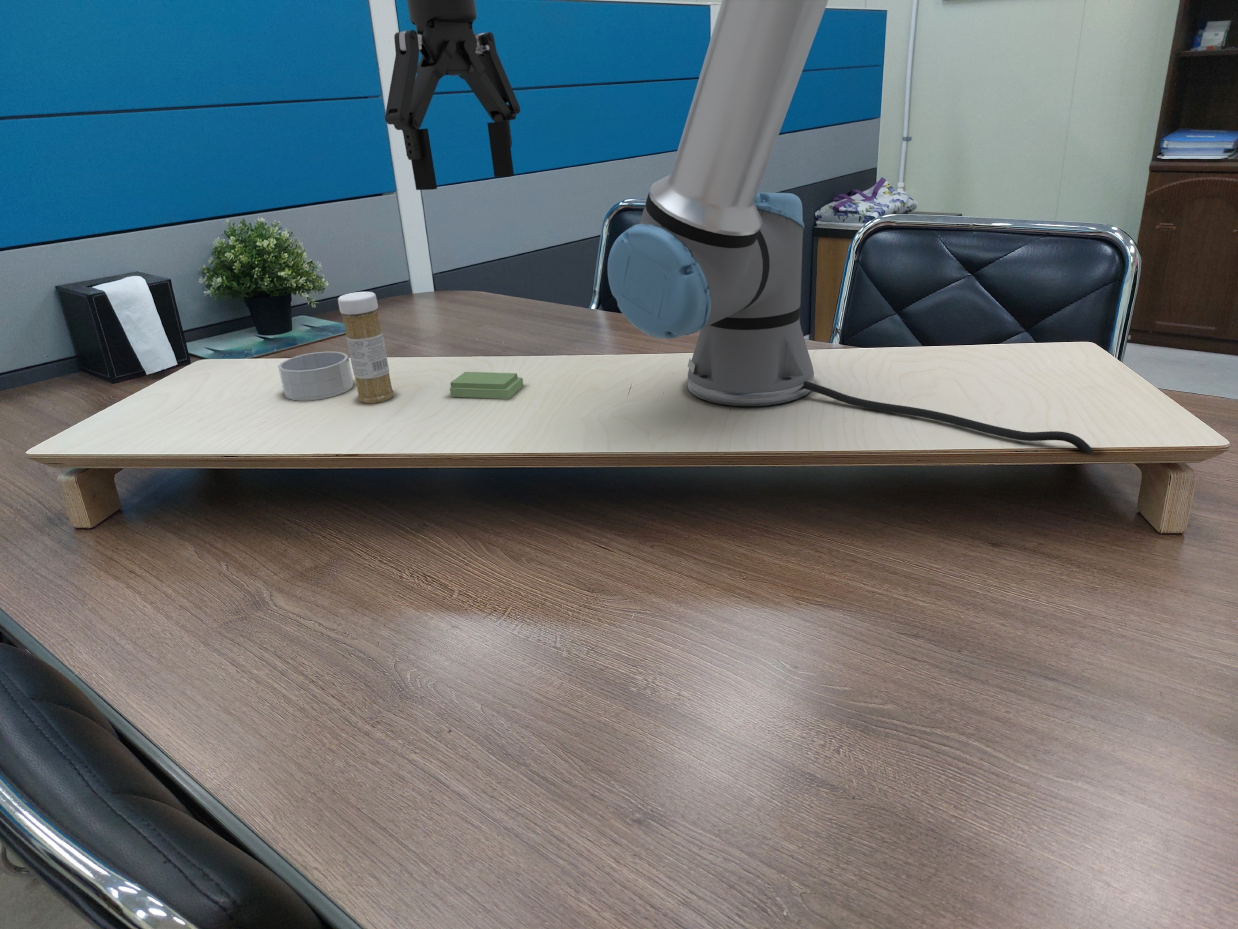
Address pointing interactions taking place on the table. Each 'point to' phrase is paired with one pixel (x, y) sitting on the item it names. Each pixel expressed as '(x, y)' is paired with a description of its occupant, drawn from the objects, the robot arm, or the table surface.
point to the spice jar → (366, 346)
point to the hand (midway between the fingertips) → (467, 183)
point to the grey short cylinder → (316, 375)
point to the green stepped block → (486, 385)
